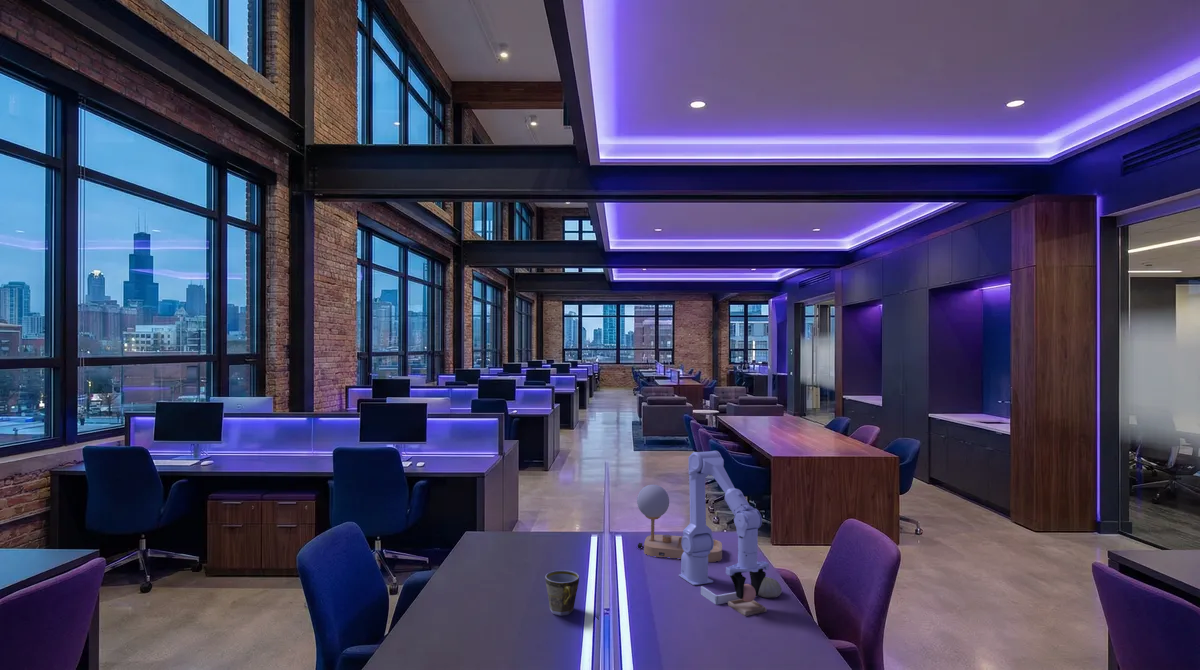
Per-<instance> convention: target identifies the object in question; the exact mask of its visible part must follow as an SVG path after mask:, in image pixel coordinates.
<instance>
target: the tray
mask: <svg viewBox="0 0 1200 670" xmlns="http://www.w3.org/2000/svg"><path fill="white" fill-rule="evenodd" d="M727 607H730V608H732V609H733V610H735V611H736V612H737V613H739V614H741V615H742V616H744V617H748V616H752V615H757V614H762V613H763V614H764V613H767V607H766V606H765V605H763V604H761V603H760V602H757V601H756V600H755V599H754V600H753V601H751V602H746V601H744V600H742V599H738V600H733V601H728V603H727Z"/></svg>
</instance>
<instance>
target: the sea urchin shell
mask: <svg viewBox="0 0 1200 670" xmlns="http://www.w3.org/2000/svg"><path fill="white" fill-rule="evenodd" d="M781 594H782V586H781V584H780V582H779V581H777V580H776V579H775V578H773V577H768V576H765V578H764V579H763V581H762V583H761V586H760V589H759V592H758V596H757V597H760V598H764V599H765V598H767V599H769V598H771V599H772V598H777V597H779V596H780V595H781Z"/></svg>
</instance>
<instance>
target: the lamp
mask: <svg viewBox="0 0 1200 670" xmlns="http://www.w3.org/2000/svg"><path fill="white" fill-rule="evenodd" d="M636 504H637V508H638V509H639V511H640V512H641V514H642V515H644V517H645V518H647V519H648V520H650V535H648V536H646V538H645V540H644V543H643V542H638V544H637V547H638V548H639V549H641V550H643V553H644V555H646V554H647V555H646V556H648V555H650V556H656V557H670V558H680V559H681V557H682V554H683V552H684V550H683V548H682V537H683V535H682V536H681V535H671V534H655V523H656V521H655V520H658V519H660V518H661V517H662V516H663V515H664V514H665V513H667V511H668V509H669V507H670V498H669V495H668V493H667V491H666V490H665V489H664V488H663V487H662V486H661V485H658V484H648V485H645V486H644V487H642V489H640V491H639V492H638V495H637V499H636ZM713 540H714V546H713V549H712V550H711V551H710V554H708V563H717V562H716V561H718V562H720V561H722V560H723V543H722V542H721V541H720V540H717V539H714V538H713ZM641 547H644V549H643V548H641ZM638 548H637V549H638ZM650 556H649V557H650ZM656 557H655V558H656ZM721 559H722V560H721Z"/></svg>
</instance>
